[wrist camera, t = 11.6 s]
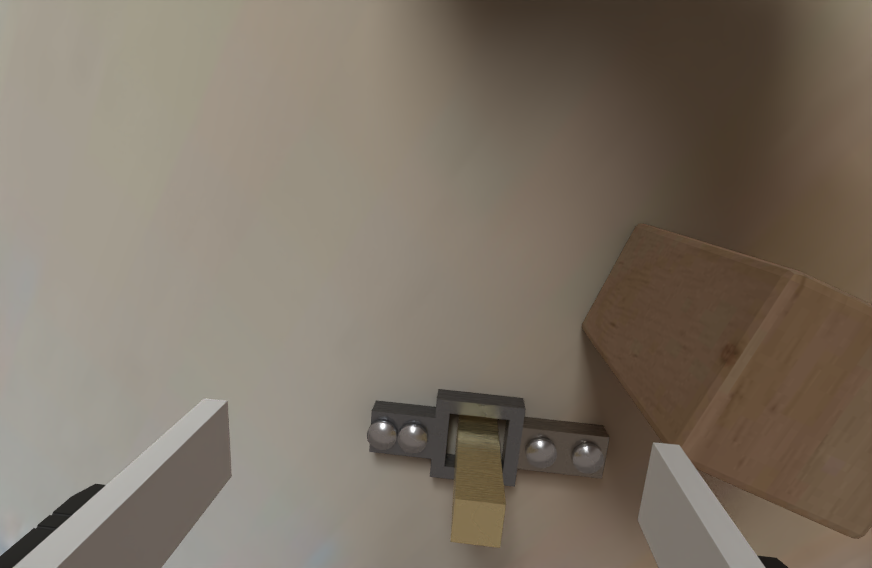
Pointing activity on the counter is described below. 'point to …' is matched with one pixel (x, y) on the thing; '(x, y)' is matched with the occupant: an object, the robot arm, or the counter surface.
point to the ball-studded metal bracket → (523, 441)
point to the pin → (478, 483)
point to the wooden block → (745, 371)
